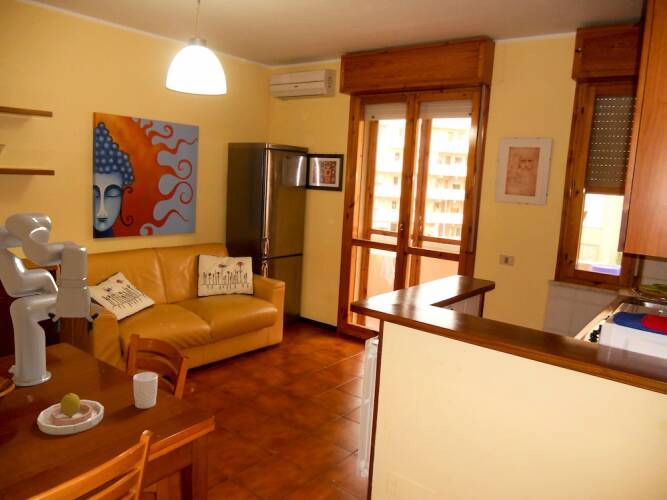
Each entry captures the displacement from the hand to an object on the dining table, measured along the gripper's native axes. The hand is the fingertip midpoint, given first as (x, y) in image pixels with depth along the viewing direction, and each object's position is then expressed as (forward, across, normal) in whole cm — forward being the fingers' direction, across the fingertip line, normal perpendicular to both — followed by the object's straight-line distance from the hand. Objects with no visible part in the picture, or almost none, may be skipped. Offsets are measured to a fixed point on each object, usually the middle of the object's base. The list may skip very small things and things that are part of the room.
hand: (73, 331), depth 167 cm
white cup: (+23, +24, -8) cm, 35 cm away
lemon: (+23, +3, -16) cm, 28 cm away
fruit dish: (+24, +3, -16) cm, 29 cm away
